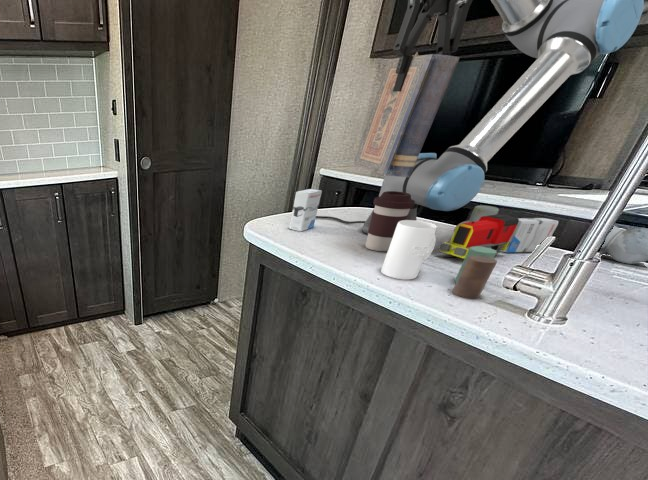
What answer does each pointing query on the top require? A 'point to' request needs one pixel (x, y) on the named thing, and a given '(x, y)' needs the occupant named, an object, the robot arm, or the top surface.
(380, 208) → the coffee cup
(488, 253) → the sage peg
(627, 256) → the figurine
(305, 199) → the ink box
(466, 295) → the walnut peg
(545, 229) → the ink box
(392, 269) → the mug
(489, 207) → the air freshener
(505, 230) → the toy train
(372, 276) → the top surface
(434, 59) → the book
